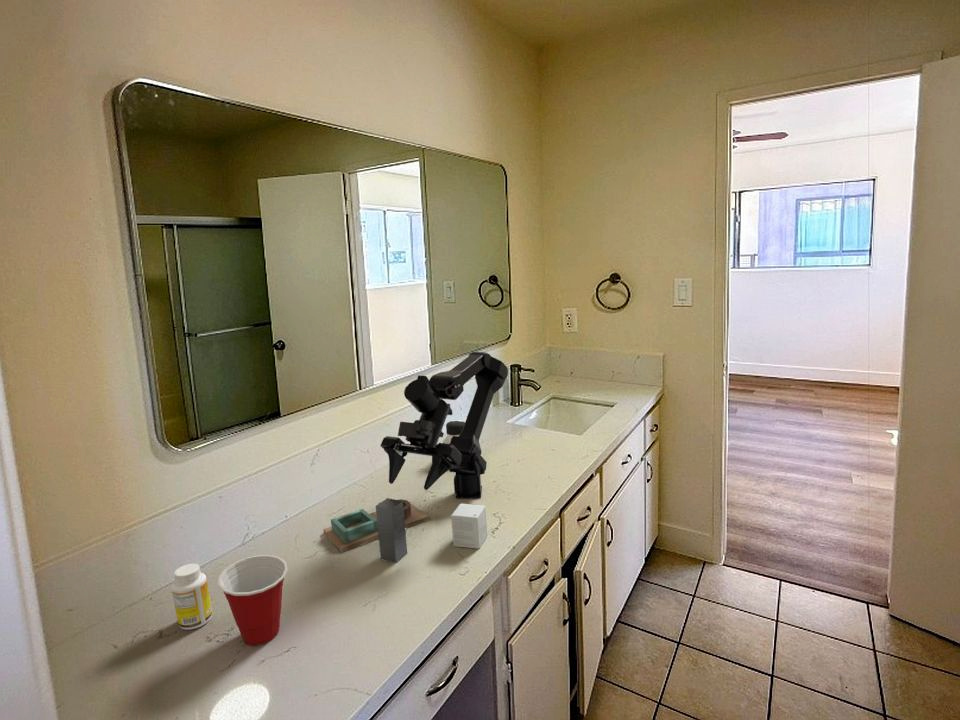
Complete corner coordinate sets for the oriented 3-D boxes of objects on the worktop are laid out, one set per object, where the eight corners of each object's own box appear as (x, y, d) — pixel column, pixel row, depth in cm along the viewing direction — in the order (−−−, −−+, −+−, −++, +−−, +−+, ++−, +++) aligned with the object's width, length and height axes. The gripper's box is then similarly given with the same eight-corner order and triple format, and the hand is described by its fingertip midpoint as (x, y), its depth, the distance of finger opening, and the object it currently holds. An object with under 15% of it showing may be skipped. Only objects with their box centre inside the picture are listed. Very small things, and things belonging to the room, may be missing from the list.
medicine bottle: (467, 463, 167) (464, 425, 164) (444, 463, 168) (441, 425, 166) (472, 455, 174) (469, 418, 171) (449, 454, 175) (447, 418, 173)
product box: (488, 535, 124) (486, 505, 122) (479, 549, 118) (477, 518, 117) (462, 532, 126) (460, 502, 124) (452, 546, 120) (450, 515, 119)
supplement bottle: (204, 607, 103) (196, 557, 102) (218, 618, 100) (210, 567, 98) (173, 623, 99) (163, 571, 97) (186, 636, 96) (176, 582, 94)
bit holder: (407, 504, 142) (406, 491, 141) (429, 519, 133) (428, 505, 132) (323, 533, 129) (322, 519, 128) (342, 552, 120) (340, 537, 120)
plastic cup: (255, 666, 88) (244, 597, 85) (214, 644, 93) (203, 579, 91) (309, 625, 97) (300, 563, 94) (268, 607, 102) (260, 548, 100)
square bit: (392, 549, 120) (387, 498, 118) (407, 553, 118) (402, 501, 116) (380, 559, 117) (375, 506, 114) (396, 563, 115) (391, 509, 113)
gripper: (381, 402, 127) (354, 465, 119) (451, 408, 118) (427, 477, 111) (404, 425, 135) (380, 485, 128) (471, 433, 126) (450, 498, 119)
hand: (407, 486), depth 121 cm, fingers open, 9 cm apart
